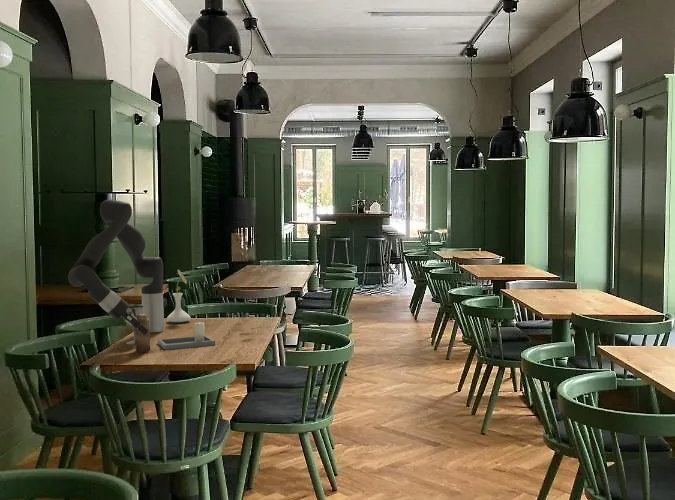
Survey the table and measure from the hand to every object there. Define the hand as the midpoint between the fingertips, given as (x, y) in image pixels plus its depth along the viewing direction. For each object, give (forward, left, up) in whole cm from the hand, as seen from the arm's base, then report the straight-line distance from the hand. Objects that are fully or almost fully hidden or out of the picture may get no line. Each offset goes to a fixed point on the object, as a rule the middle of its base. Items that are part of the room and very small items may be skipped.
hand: (144, 331), depth 290 cm
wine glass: (-18, -1, -8) cm, 20 cm away
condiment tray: (0, +16, -7) cm, 18 cm away
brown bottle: (0, -1, -7) cm, 7 cm away
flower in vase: (-62, +27, -8) cm, 68 cm away
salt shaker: (0, +22, -7) cm, 23 cm away
